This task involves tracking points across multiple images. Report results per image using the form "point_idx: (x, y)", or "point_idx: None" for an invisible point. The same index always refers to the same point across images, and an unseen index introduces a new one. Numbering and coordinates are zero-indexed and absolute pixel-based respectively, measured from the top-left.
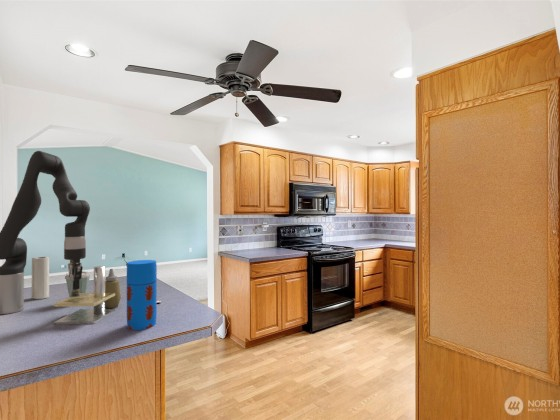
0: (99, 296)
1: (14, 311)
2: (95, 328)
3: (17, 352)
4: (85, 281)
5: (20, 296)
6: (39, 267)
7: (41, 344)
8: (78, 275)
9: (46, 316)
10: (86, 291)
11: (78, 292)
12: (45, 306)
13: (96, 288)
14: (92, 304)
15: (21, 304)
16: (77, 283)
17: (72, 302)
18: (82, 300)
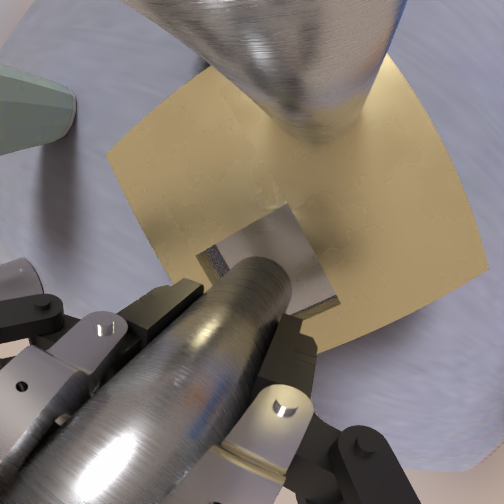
0: (358, 120)
1: (41, 293)
2: (488, 271)
3: (408, 454)
4: (6, 83)
5: (3, 291)
6: None
7: (425, 420)
8: (261, 461)
9: (132, 273)
10: (44, 82)
11: (284, 292)
12: (35, 211)
13: (342, 121)
14: (476, 271)
15: (22, 278)
16: (309, 388)
17: (324, 327)
18: (342, 262)
